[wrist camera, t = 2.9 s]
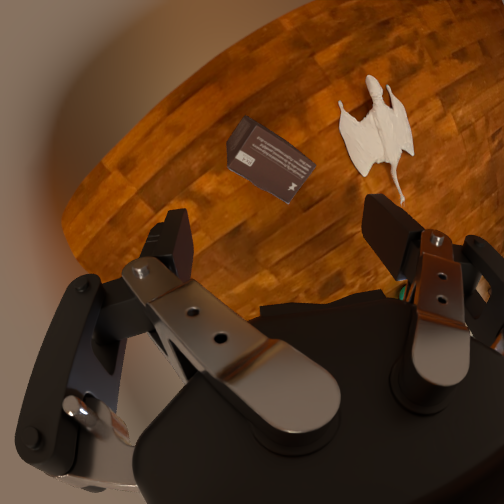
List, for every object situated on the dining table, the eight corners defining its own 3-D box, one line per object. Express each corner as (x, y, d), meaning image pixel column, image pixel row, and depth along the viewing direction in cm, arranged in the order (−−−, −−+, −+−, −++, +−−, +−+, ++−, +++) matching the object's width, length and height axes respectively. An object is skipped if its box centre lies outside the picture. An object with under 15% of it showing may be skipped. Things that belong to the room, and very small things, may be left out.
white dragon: (419, 183, 36) (435, 194, 32) (364, 209, 37) (377, 223, 34) (388, 65, 26) (406, 66, 23) (320, 87, 28) (333, 87, 24)
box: (287, 138, 31) (319, 166, 21) (266, 168, 33) (286, 209, 23) (245, 110, 29) (256, 123, 19) (223, 142, 31) (223, 172, 21)
